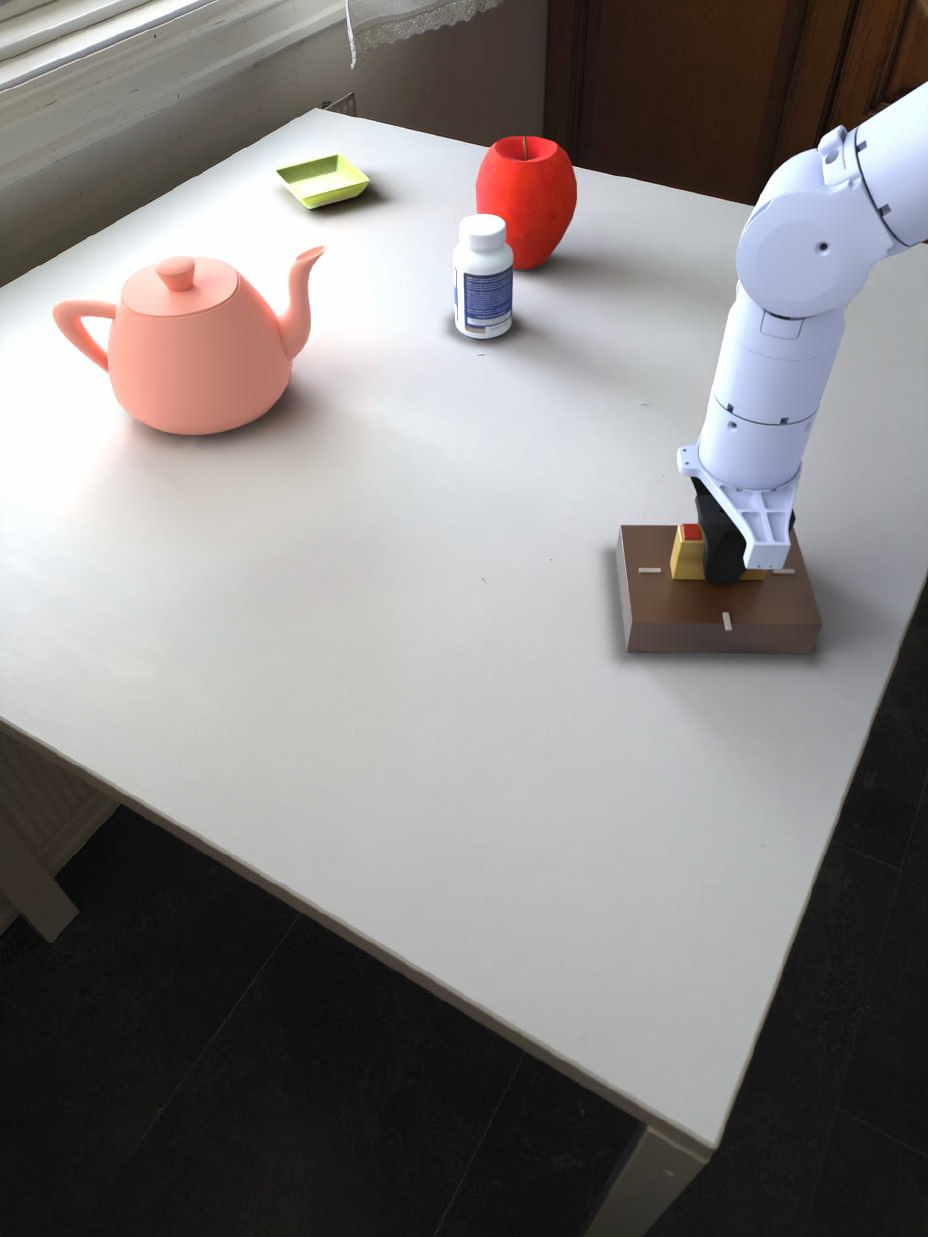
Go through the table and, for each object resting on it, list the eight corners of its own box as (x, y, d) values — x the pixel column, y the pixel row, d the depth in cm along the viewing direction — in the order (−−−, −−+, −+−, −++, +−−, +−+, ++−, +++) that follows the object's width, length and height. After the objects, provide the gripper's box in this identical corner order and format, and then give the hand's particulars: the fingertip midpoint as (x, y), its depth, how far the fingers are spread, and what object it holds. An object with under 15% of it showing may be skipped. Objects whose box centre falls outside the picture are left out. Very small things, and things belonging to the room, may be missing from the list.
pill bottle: (523, 325, 85) (527, 224, 78) (481, 347, 83) (480, 245, 76) (485, 303, 88) (485, 203, 81) (443, 323, 86) (439, 223, 78)
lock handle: (759, 563, 60) (773, 522, 57) (764, 580, 59) (778, 539, 56) (669, 562, 60) (678, 521, 58) (672, 579, 59) (681, 539, 57)
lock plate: (781, 550, 65) (792, 517, 63) (812, 661, 59) (826, 630, 56) (614, 548, 66) (619, 517, 63) (627, 659, 59) (633, 628, 57)
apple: (573, 239, 96) (582, 116, 87) (571, 287, 90) (580, 160, 80) (480, 236, 97) (479, 114, 87) (471, 283, 90) (469, 157, 81)
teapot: (335, 331, 85) (316, 201, 76) (355, 428, 76) (336, 292, 66) (96, 362, 83) (46, 231, 73) (85, 466, 73) (26, 331, 64)
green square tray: (302, 217, 100) (299, 198, 99) (274, 187, 106) (271, 168, 104) (373, 198, 103) (371, 179, 102) (342, 170, 108) (340, 152, 107)
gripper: (675, 321, 54) (645, 492, 64) (711, 480, 45) (669, 651, 55) (794, 320, 54) (745, 492, 64) (856, 481, 44) (786, 652, 55)
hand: (717, 566), depth 59 cm, fingers closed on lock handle, 2 cm apart
